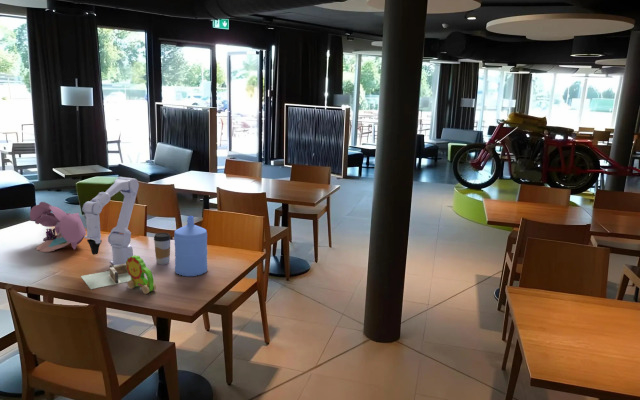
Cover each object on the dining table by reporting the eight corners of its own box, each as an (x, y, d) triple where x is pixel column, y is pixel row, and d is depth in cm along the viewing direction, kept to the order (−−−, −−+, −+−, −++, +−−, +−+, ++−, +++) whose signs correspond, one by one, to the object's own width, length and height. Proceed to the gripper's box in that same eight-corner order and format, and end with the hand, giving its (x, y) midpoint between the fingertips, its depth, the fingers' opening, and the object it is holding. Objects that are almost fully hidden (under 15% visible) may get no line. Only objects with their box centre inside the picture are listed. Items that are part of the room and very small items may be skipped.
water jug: (213, 272, 242) (213, 217, 236) (185, 279, 231) (183, 222, 225) (197, 263, 253) (196, 211, 246) (169, 270, 242) (167, 215, 236)
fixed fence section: (134, 271, 239) (134, 261, 238) (135, 272, 238) (135, 261, 236) (109, 275, 232) (109, 265, 230) (110, 276, 230) (110, 266, 229)
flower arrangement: (22, 256, 266) (3, 208, 256) (55, 236, 287) (39, 192, 276) (71, 259, 255) (54, 209, 245) (103, 238, 276) (88, 192, 265)
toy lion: (157, 291, 217) (155, 259, 213) (147, 295, 212) (145, 262, 209) (133, 282, 225) (132, 251, 221) (123, 286, 220) (121, 254, 217)
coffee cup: (174, 261, 254) (174, 234, 251) (163, 266, 246) (162, 238, 243) (162, 258, 257) (161, 231, 254) (151, 263, 250) (150, 235, 247)
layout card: (132, 266, 244) (132, 266, 244) (144, 278, 231) (144, 277, 230) (80, 276, 229) (80, 276, 229) (90, 289, 216) (90, 288, 216)
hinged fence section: (110, 275, 230) (109, 266, 229) (113, 275, 231) (113, 265, 230) (115, 283, 222) (114, 273, 221) (119, 282, 223) (118, 272, 222)
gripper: (80, 224, 231) (82, 251, 234) (88, 231, 220) (90, 259, 223) (96, 222, 236) (97, 248, 239) (104, 229, 225) (106, 257, 228)
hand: (95, 254), depth 231 cm, fingers closed
